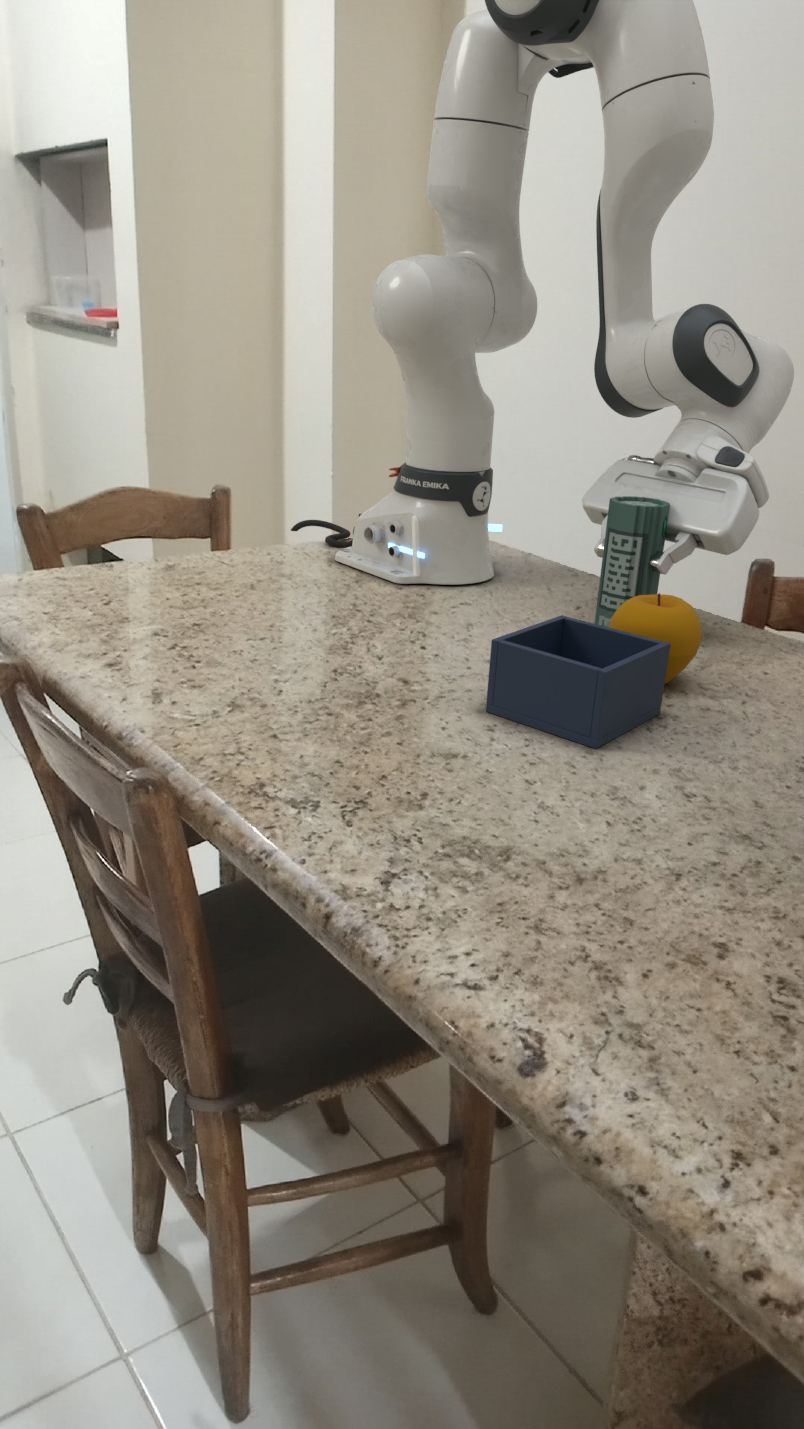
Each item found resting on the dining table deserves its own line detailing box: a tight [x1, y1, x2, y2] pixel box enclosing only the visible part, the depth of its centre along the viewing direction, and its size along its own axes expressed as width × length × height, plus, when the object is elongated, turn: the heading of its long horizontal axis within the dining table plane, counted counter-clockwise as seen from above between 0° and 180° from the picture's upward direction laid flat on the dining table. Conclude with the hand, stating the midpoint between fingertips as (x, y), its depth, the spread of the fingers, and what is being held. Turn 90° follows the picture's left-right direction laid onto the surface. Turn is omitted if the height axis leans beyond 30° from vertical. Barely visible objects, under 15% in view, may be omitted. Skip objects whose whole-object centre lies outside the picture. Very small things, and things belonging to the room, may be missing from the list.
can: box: [594, 496, 670, 627], centre depth 113 cm, size 6×6×15 cm
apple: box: [609, 592, 703, 684], centre depth 100 cm, size 9×9×9 cm
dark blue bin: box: [485, 614, 671, 750], centre depth 91 cm, size 11×11×7 cm
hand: (628, 562), depth 112 cm, fingers closed on can, 6 cm apart
